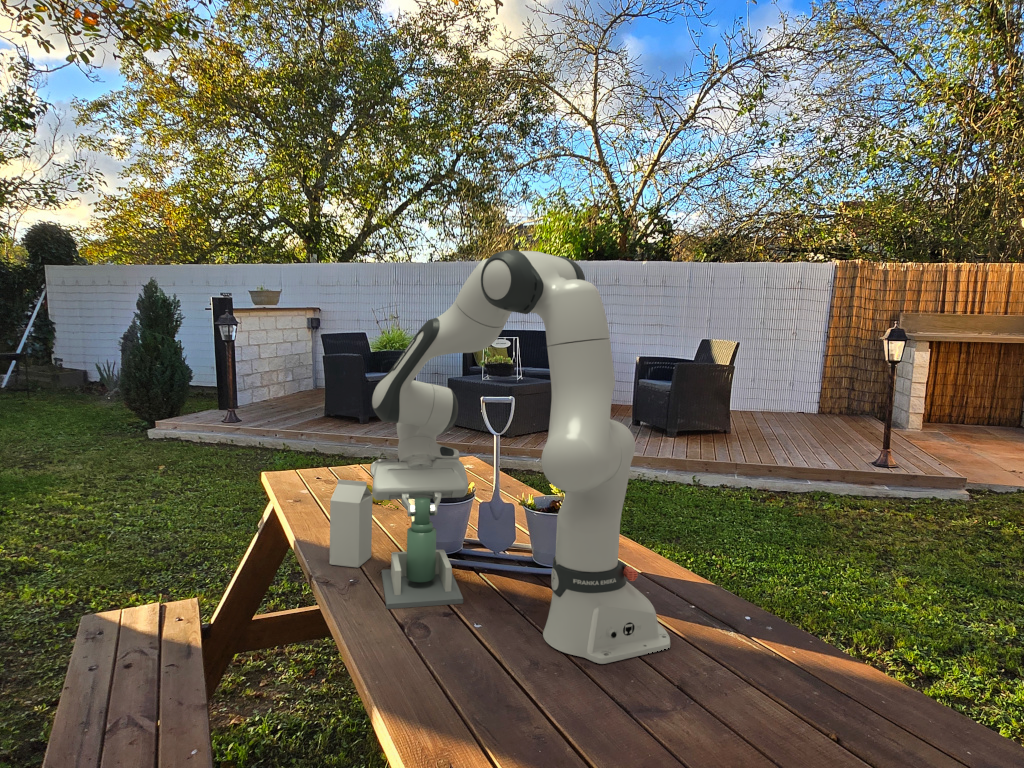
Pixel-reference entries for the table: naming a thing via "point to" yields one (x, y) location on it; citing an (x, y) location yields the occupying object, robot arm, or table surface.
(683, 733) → the table surface
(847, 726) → the table surface
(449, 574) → the bottle holder
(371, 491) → the sprinkler
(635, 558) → the table surface
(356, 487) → the milk carton
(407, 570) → the bottle
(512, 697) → the table surface
